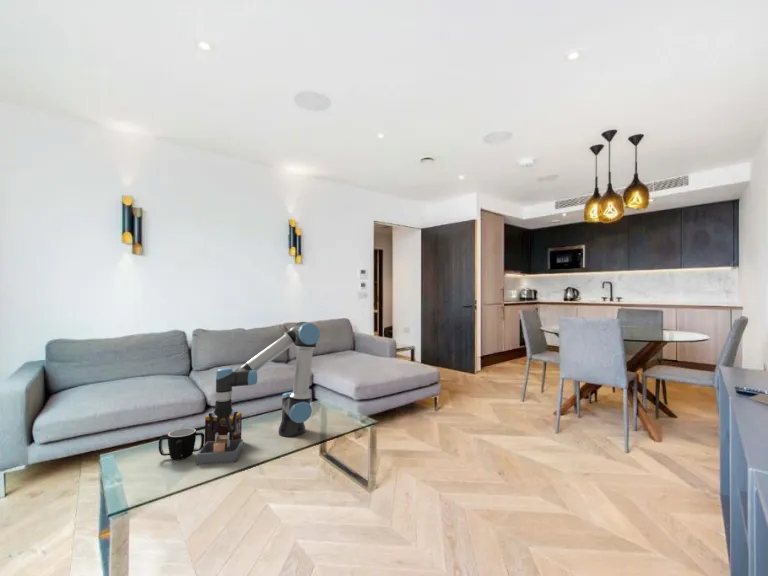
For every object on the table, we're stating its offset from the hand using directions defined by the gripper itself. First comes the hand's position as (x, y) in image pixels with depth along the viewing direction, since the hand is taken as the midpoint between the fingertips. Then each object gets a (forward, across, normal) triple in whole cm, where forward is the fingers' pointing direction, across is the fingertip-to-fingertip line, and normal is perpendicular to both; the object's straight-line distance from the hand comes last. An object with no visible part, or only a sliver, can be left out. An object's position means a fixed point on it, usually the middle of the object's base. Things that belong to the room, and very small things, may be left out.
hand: (222, 446), depth 181 cm
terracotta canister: (+3, 0, +7) cm, 8 cm away
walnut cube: (0, 0, 0) cm, 0 cm away
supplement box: (+4, +3, -14) cm, 14 cm away
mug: (+4, +19, 0) cm, 19 cm away
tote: (+4, 0, +3) cm, 5 cm away
